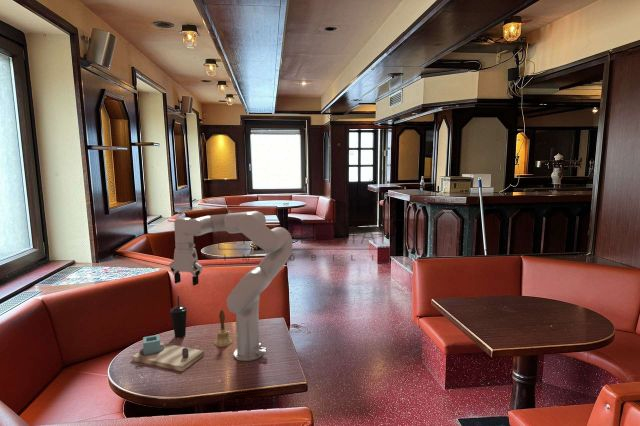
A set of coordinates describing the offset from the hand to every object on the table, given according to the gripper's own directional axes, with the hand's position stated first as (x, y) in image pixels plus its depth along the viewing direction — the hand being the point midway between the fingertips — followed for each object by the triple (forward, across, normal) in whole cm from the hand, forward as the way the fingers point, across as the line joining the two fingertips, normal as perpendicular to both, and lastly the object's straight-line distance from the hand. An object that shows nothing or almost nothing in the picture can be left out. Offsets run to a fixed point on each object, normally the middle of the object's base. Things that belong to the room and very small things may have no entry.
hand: (186, 283), depth 166 cm
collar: (+28, +12, +10) cm, 32 cm away
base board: (+30, +3, +10) cm, 32 cm away
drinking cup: (+31, +13, -9) cm, 34 cm away
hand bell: (+31, -11, -10) cm, 34 cm away
